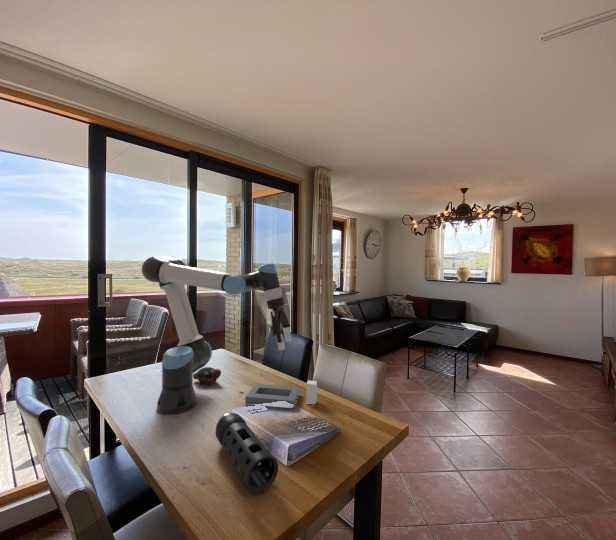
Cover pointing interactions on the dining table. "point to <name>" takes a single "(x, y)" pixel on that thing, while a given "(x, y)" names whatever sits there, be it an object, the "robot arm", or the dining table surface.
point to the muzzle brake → (246, 452)
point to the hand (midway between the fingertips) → (285, 345)
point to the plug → (311, 392)
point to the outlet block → (272, 394)
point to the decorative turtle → (207, 375)
